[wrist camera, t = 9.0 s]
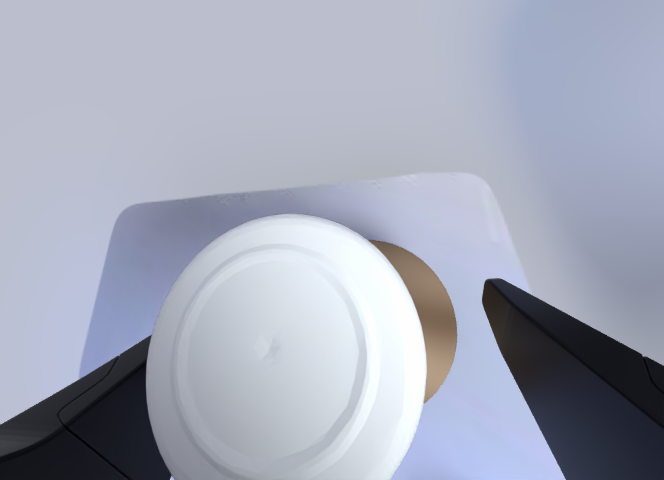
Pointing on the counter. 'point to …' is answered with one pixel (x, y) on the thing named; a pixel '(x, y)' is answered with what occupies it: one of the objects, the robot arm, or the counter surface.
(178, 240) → the counter surface
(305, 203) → the counter surface
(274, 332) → the sprinkles bottle
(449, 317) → the walnut footstool
